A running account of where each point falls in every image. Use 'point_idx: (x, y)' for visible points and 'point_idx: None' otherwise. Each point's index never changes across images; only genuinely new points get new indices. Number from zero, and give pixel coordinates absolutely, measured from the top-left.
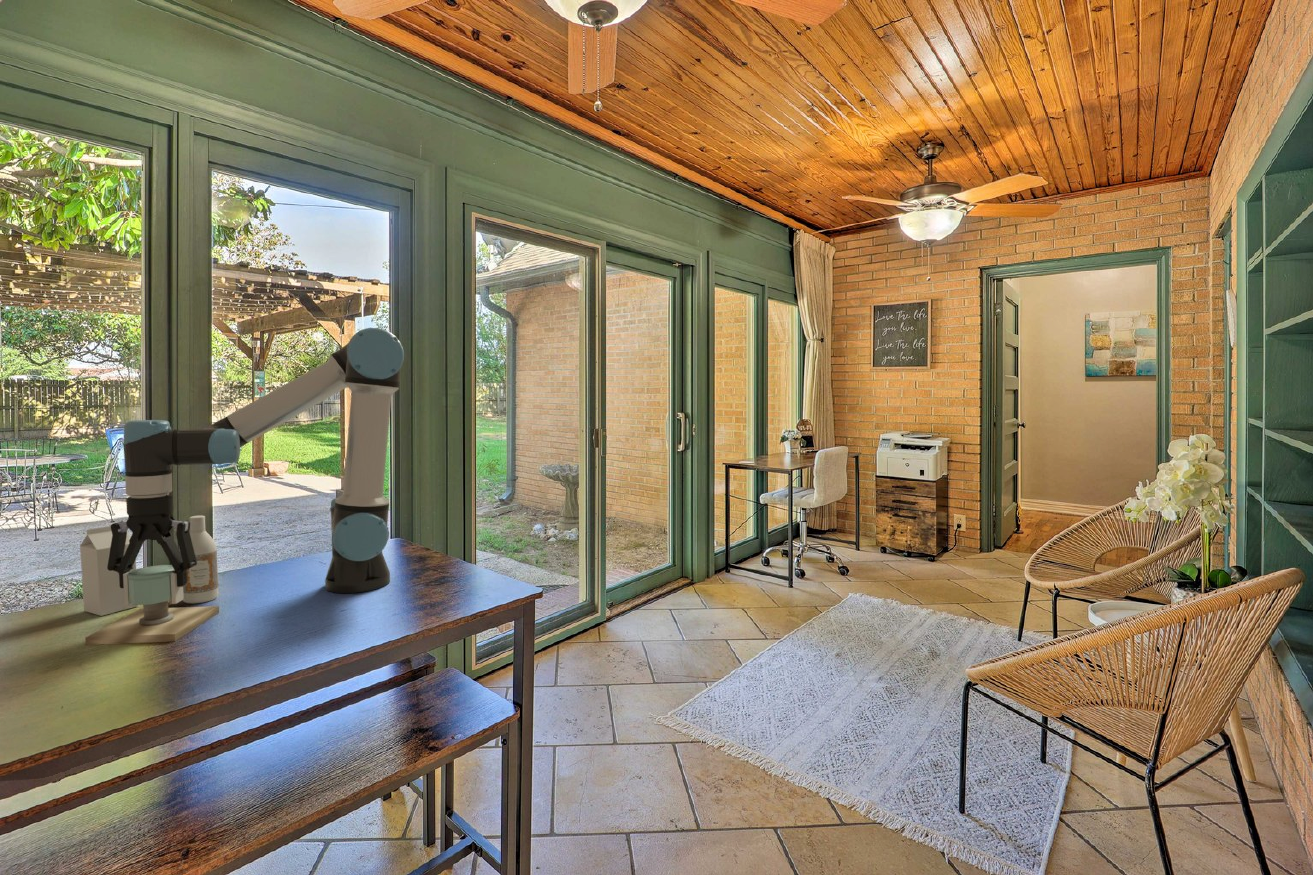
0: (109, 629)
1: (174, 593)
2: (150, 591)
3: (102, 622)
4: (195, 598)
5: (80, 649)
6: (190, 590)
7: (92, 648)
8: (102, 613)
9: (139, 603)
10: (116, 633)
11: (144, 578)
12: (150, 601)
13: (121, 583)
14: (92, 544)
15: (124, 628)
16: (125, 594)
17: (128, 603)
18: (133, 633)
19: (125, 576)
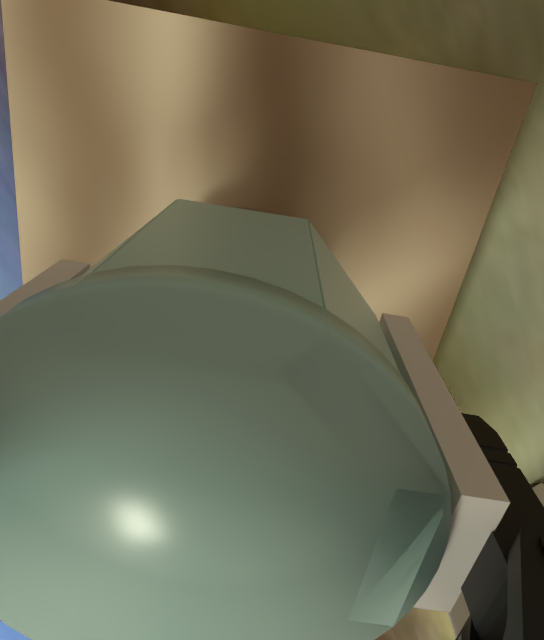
0: (439, 203)
1: (26, 289)
2: (151, 228)
3: (516, 410)
4: None
5: (524, 4)
6: None
7: (462, 2)
8: (541, 491)
9: (269, 214)
10: (376, 109)
11: (157, 274)
12: (179, 203)
13: (488, 445)
14: None
15: (362, 197)
16: (419, 355)
17: (384, 317)
18: (274, 77)
19: (470, 472)
